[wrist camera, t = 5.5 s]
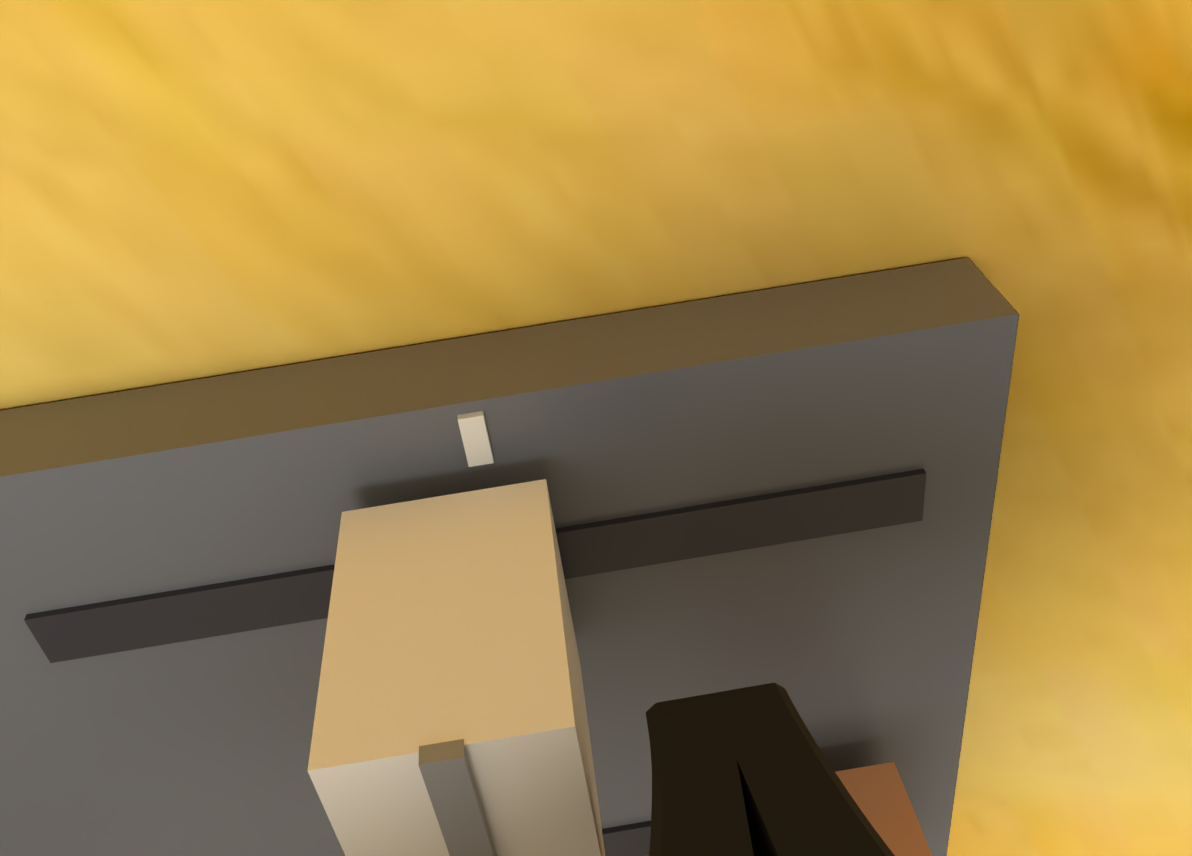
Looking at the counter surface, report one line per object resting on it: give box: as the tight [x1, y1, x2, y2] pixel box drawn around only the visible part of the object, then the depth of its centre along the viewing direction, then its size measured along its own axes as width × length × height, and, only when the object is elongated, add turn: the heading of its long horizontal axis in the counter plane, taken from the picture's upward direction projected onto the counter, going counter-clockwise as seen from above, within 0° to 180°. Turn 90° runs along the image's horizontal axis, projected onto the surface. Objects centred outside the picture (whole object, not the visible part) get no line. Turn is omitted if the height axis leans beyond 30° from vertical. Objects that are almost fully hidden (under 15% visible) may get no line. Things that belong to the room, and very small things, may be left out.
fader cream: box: [308, 479, 605, 856], centre depth 12 cm, size 2×3×4 cm
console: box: [0, 258, 1019, 856], centre depth 16 cm, size 15×12×2 cm
